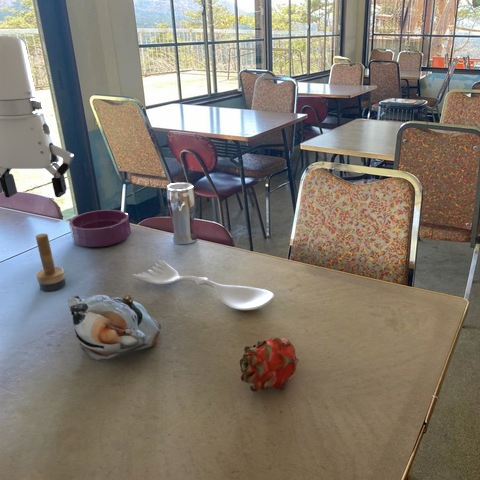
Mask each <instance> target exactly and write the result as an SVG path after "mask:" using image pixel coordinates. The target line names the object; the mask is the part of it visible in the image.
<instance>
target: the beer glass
mask: <svg viewBox="0 0 480 480" xmlns="http://www.w3.org/2000/svg"><path fill="white" fill-rule="evenodd" d="M195 195H196V194H195V190H194V185H193V184H192V183H190V182H175V183H170V184H168V185H167V186H166V203H167V204H166V205H167V209H168V213H169V216H170V220H171V223H172V228H173V238H172V239H173V240H172V241H173V243H174V244H176V245H179V246H180V245H181V246H185V245H191V244H193V243H195V242H197V240H198V237H197V233H196V230H195V219H196V208H197V207H196V206H197V205H196V196H195Z"/></svg>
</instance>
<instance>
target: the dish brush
mask: <svg viewBox="0 0 480 480" xmlns="http://www.w3.org/2000/svg"><path fill="white" fill-rule="evenodd" d="M35 241H36V244H37V250H38V253H39V258H40V261H41V262H40V263H41V266H42V269H41V270H39V271H37V272H36V280H37V283H38V286H39V289H40V291H42V292H45V293H51V292H55V291H56V292H57V291H60V290H61V289H63V288H65V286H66V285H67V282H66V275H65V271H64V269H63V268H62V267H60V266H55V262H54V257H53V253H52V249H51V248H52V247H51V243H50V239H49V235H48V234H47V233H39V234H36V235H35Z"/></svg>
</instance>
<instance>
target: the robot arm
mask: <svg viewBox="0 0 480 480" xmlns="http://www.w3.org/2000/svg"><path fill="white" fill-rule="evenodd" d="M28 58H29V57H28V53H27V49H26V44H25V43H24V42H23V40H22V39H21V38H20V37H17V36H7V35H5V36H4V35H0V186H1V189H2V192H3V193H4V197H5V198H11V197H12V196H14V195H16V194H17V193H18V189H17V186H16V182H15V177H14V174H13V173H10V172H11V171H12V170H13V169H15V170H16V169H18V170H35V169H36V170H41V169H45V170H46V171H48V173H50V174H51V175H52V176H53V177H52V178H51V183H52V184H51V185H52V188H53V192H54V197H56V198H61V197H63V196H64V195H65V194H66V193H67V190H68V189H67V188H68V187H67V184H66V179H65V175H66V173H67V172H68V170H69V169H70V168H71V167H72V163H73V160H74V156H75V155H74V153H72V152H70V151H68V150H66V149H63V148H62V147H60V146H58V145H57V142H56V139H55V136H54V133H53V130H52V127H51V125H50V123H49V121H48V118H47V116H46V113H40V112H41V110H45V109H46V103H45V102H44V101H39V99H38V97H37V95H36V89H35V85H34V80H33V76H32V72H31V66H30V63H29V59H28ZM60 158H62V163H61V164H60V163H58V162H60Z"/></svg>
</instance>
